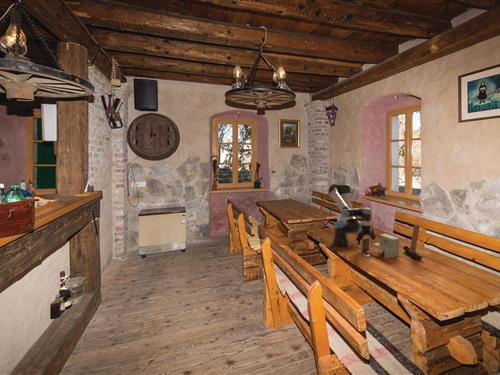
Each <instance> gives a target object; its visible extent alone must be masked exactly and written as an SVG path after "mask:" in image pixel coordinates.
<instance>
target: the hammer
mask: <svg viewBox="0 0 500 375" xmlns="http://www.w3.org/2000/svg"><path fill="white" fill-rule="evenodd" d="M420 228H421V225H420V224H418V223H415V224H414V225H413V228H412V230H413V231H412V236H411V243H410V247H409V246H408V245H404V247H403V248H402V249H403V250H404V253H405V254H406V255H408V256H409V257H411V258H412V259H413V258H414V259H413V260H421V259H423V258H424V256H422V255H419V253H418V252H417V251H416V249H417V244H418V239H419V235H420Z"/></svg>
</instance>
